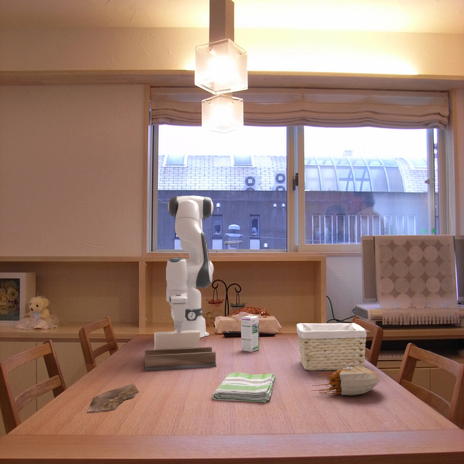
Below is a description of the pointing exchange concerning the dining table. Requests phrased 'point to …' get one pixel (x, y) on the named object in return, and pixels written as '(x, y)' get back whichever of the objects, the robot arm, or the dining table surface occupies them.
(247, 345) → the syrup box
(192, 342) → the white rectangular block
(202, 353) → the slot rack
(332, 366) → the storage basket
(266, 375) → the dish towel
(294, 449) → the dining table surface
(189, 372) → the dining table surface
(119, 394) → the wooden fragment
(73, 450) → the dining table surface
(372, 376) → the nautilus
